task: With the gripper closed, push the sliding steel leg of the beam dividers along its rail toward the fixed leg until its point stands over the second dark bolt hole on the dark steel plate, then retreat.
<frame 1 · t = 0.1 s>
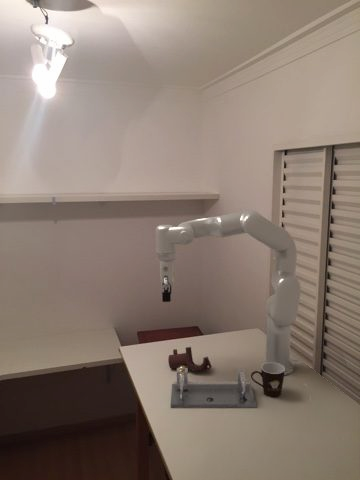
hand: (167, 297, 170), 31 cm above the table, fingers open, 9 cm apart
coffee mug: (268, 392, 158), on the table
bracket: (190, 369, 176), on the table
sliding leg: (182, 381, 155), point 6 cm above the table, slide at 11.0 cm
bolt plate and beam: (212, 396, 155), on the table
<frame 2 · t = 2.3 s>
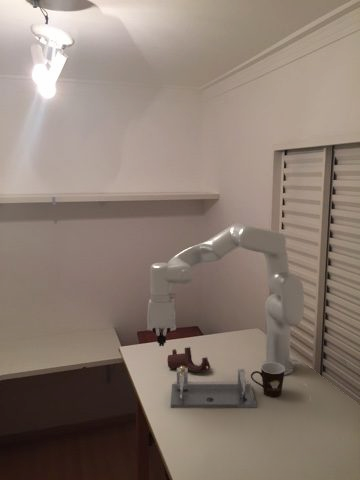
hand: (161, 344, 156), 19 cm above the table, fingers closed
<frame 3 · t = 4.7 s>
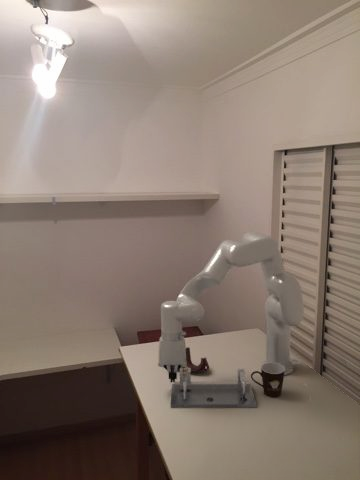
hand: (172, 380, 159), 4 cm above the table, fingers closed
sliding leg: (185, 381, 155), point 6 cm above the table, slide at 9.9 cm, touching gripper
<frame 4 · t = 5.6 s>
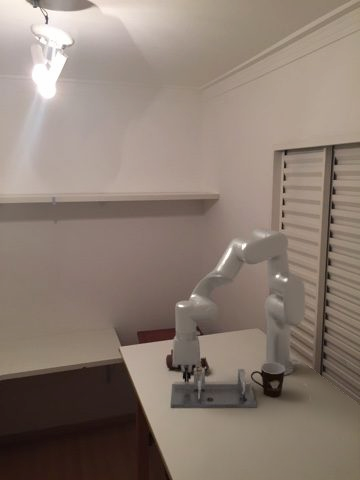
hand: (186, 380, 159), 4 cm above the table, fingers closed
sliding leg: (199, 381, 155), point 6 cm above the table, slide at 4.6 cm, touching gripper
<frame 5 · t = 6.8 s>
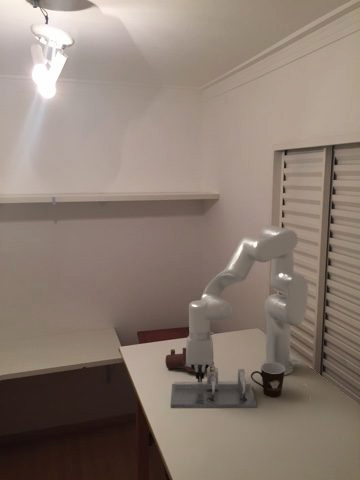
hand: (199, 380, 158), 4 cm above the table, fingers closed
sliding leg: (212, 381, 155), point 6 cm above the table, slide at -0.3 cm, touching gripper
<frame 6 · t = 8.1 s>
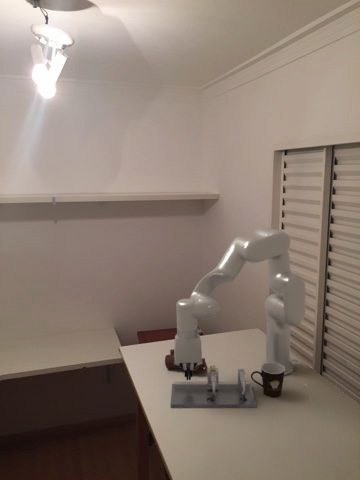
hand: (188, 378, 159), 5 cm above the table, fingers closed
sliding leg: (213, 381, 155), point 6 cm above the table, slide at -0.4 cm
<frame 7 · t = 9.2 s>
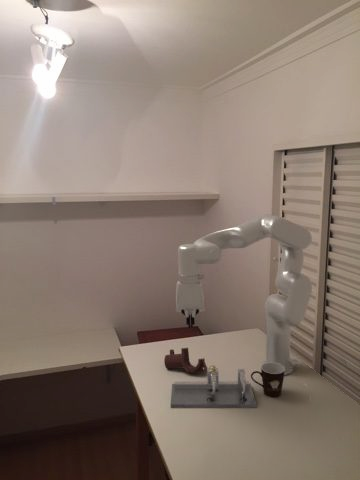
hand: (190, 326, 156), 25 cm above the table, fingers closed
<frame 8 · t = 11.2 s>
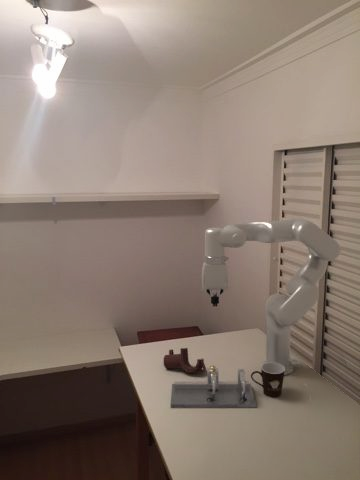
hand: (214, 305, 166), 29 cm above the table, fingers closed
at the end: sliding leg slide at -0.4 cm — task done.
